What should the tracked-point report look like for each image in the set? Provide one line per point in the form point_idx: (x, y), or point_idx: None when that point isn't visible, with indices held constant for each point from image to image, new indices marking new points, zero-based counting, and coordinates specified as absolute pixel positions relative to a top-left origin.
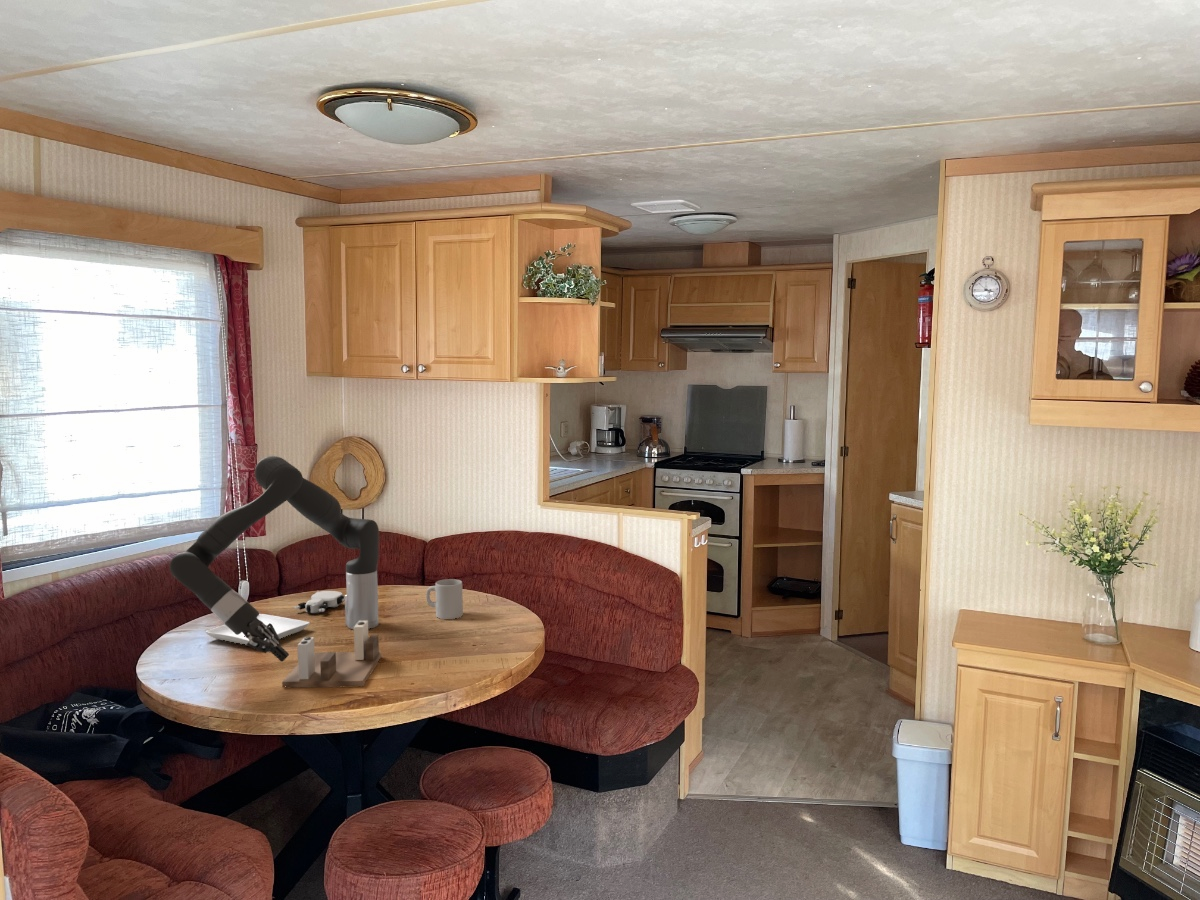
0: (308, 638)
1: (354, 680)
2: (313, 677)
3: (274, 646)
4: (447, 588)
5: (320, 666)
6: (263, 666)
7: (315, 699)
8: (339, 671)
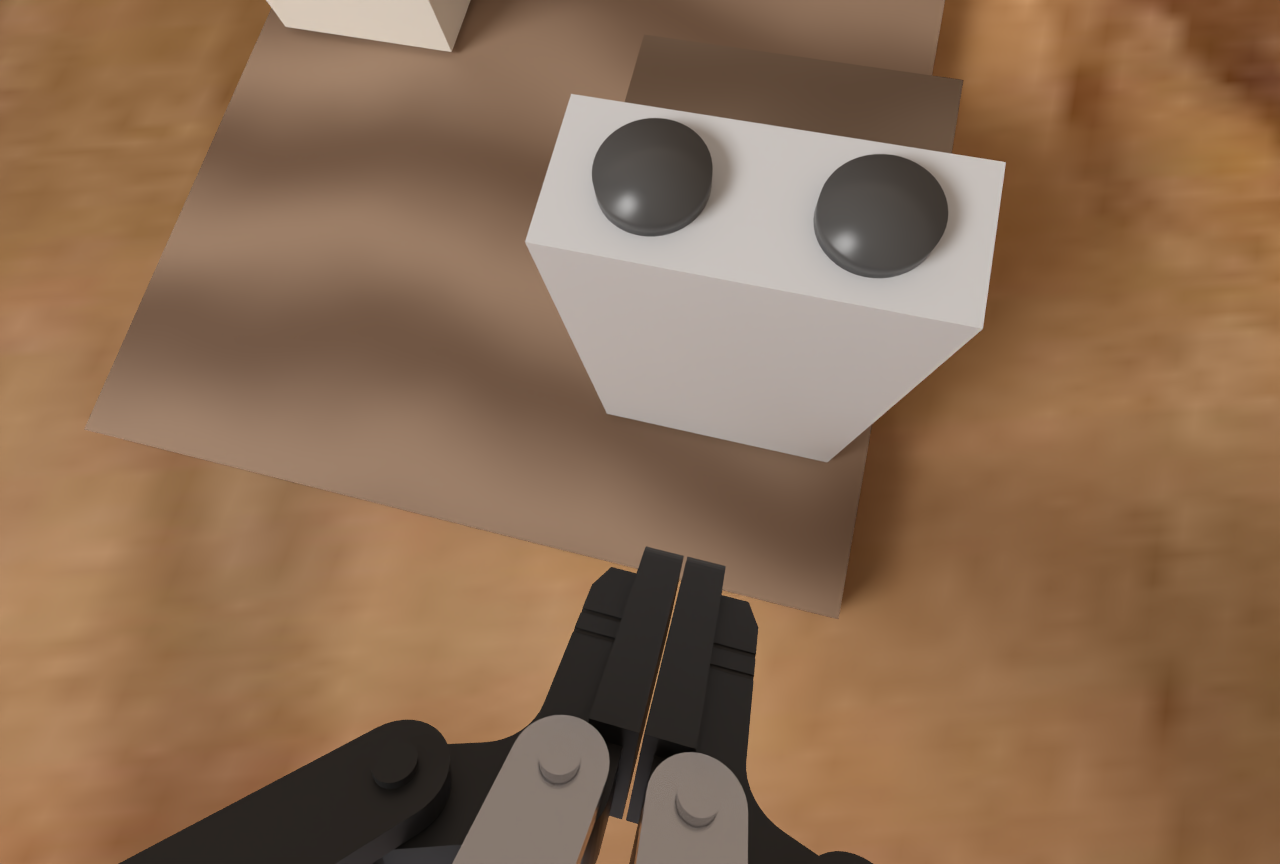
0: (697, 150)
1: (927, 33)
2: None
3: (738, 806)
4: None
5: None
6: None
7: (1163, 324)
8: None
